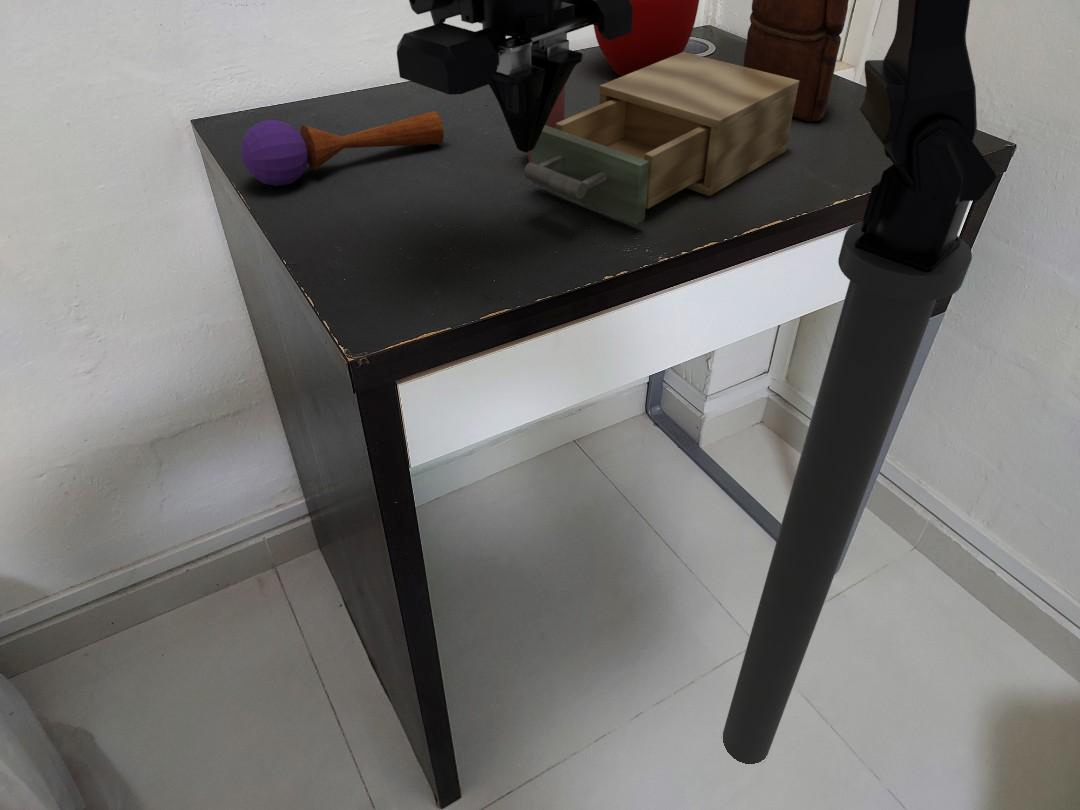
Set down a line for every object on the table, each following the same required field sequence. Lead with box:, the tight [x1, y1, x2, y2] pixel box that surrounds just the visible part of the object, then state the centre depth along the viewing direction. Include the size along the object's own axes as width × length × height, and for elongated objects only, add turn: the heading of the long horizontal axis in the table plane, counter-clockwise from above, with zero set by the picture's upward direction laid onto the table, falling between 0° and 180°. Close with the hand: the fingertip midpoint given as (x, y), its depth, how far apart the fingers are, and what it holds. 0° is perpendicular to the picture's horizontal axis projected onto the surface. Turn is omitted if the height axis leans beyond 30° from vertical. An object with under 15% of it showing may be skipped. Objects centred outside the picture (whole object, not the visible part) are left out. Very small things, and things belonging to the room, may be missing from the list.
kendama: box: [240, 110, 445, 187], centre depth 78 cm, size 6×6×20 cm
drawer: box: [523, 98, 711, 226], centre depth 71 cm, size 17×12×5 cm
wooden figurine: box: [743, 0, 850, 122], centre depth 84 cm, size 12×6×18 cm, turn 42°
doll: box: [527, 84, 566, 163], centre depth 76 cm, size 4×4×12 cm
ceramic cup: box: [593, 0, 700, 77], centre depth 98 cm, size 13×17×10 cm
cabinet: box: [599, 51, 799, 197], centre depth 78 cm, size 14×14×7 cm
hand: (525, 150), depth 62 cm, fingers closed
